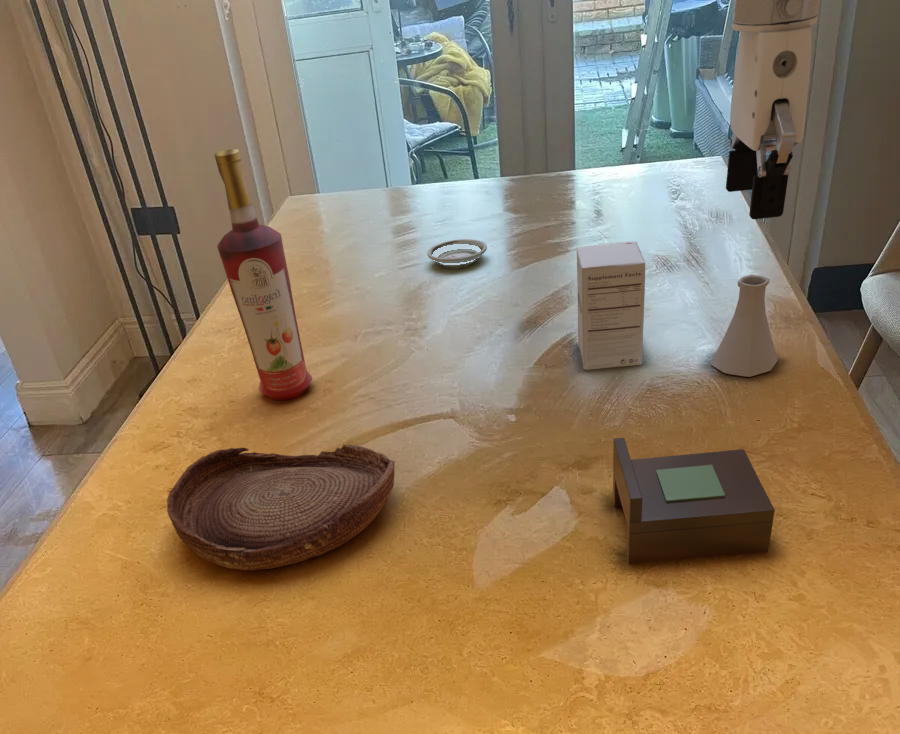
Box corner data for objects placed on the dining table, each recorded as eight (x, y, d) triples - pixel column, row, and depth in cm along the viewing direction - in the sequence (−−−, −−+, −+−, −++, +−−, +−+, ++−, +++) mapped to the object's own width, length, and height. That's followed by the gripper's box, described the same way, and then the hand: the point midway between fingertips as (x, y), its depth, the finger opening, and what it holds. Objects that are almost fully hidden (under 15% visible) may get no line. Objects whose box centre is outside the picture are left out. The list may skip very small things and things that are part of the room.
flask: (751, 384, 96) (762, 297, 90) (699, 367, 101) (706, 283, 95) (788, 361, 100) (802, 276, 93) (736, 346, 104) (746, 263, 98)
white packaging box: (577, 346, 109) (575, 245, 101) (635, 340, 109) (638, 239, 100) (581, 371, 104) (580, 267, 96) (643, 366, 103) (647, 260, 95)
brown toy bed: (738, 489, 81) (747, 425, 77) (768, 552, 73) (779, 485, 69) (612, 501, 82) (613, 438, 78) (628, 564, 74) (630, 498, 70)
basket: (392, 450, 94) (385, 410, 91) (411, 557, 79) (404, 513, 76) (191, 485, 93) (176, 446, 90) (170, 600, 78) (152, 557, 75)
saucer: (500, 259, 137) (499, 244, 136) (456, 278, 133) (454, 262, 131) (460, 249, 143) (458, 234, 142) (417, 267, 139) (415, 252, 137)
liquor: (315, 375, 112) (261, 140, 94) (317, 400, 106) (260, 154, 88) (260, 384, 111) (195, 150, 93) (259, 410, 106) (189, 165, 88)
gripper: (851, 12, 71) (815, 224, 82) (789, -9, 84) (766, 177, 95) (760, 23, 72) (737, 233, 83) (713, 1, 85) (698, 184, 96)
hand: (752, 202), depth 89 cm, fingers open, 9 cm apart
